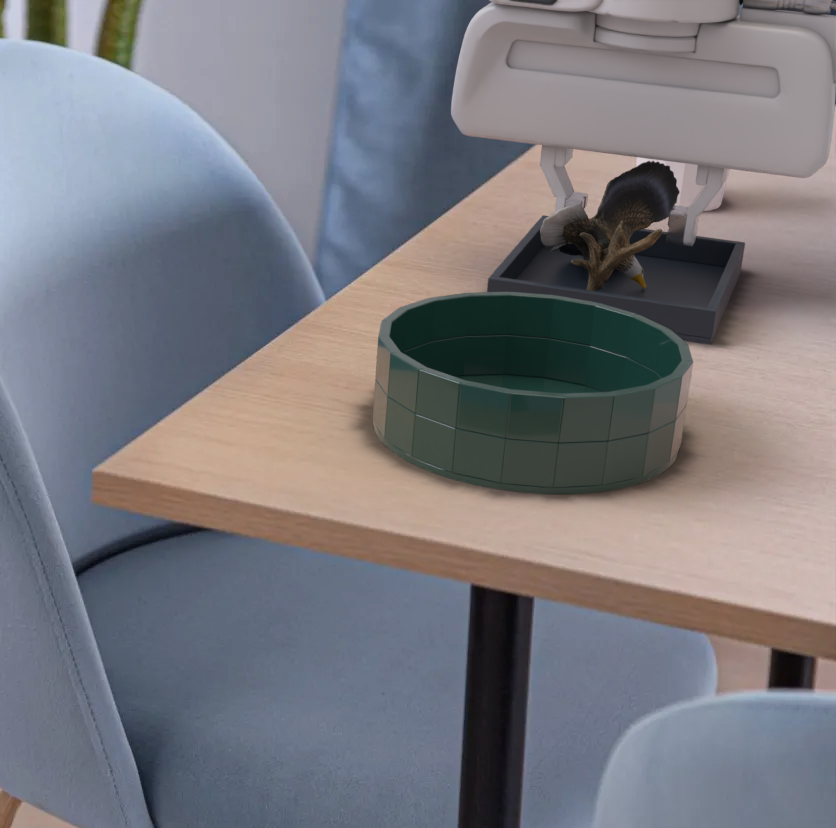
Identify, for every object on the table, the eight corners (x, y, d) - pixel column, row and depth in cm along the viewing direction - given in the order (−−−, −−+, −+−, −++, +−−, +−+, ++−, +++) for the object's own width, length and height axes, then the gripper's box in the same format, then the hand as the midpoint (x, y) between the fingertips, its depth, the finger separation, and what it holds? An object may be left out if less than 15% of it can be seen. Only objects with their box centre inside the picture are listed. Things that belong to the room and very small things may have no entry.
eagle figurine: (696, 293, 94) (707, 220, 101) (634, 182, 91) (649, 115, 98) (570, 348, 97) (588, 273, 104) (506, 243, 95) (529, 174, 102)
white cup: (731, 221, 114) (748, 112, 111) (624, 210, 115) (638, 103, 112) (728, 195, 120) (744, 91, 117) (626, 185, 121) (640, 82, 118)
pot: (433, 362, 87) (441, 274, 85) (706, 415, 82) (721, 323, 81) (325, 456, 76) (331, 357, 74) (634, 524, 71) (649, 420, 69)
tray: (539, 247, 106) (542, 214, 106) (740, 275, 103) (745, 242, 102) (484, 314, 94) (488, 278, 94) (710, 348, 91) (716, 311, 90)
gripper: (867, -13, 91) (820, 246, 97) (484, -50, 97) (462, 197, 103) (860, 4, 86) (811, 277, 92) (455, -37, 92) (433, 223, 98)
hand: (623, 234), depth 98 cm, fingers closed on eagle figurine, 5 cm apart
